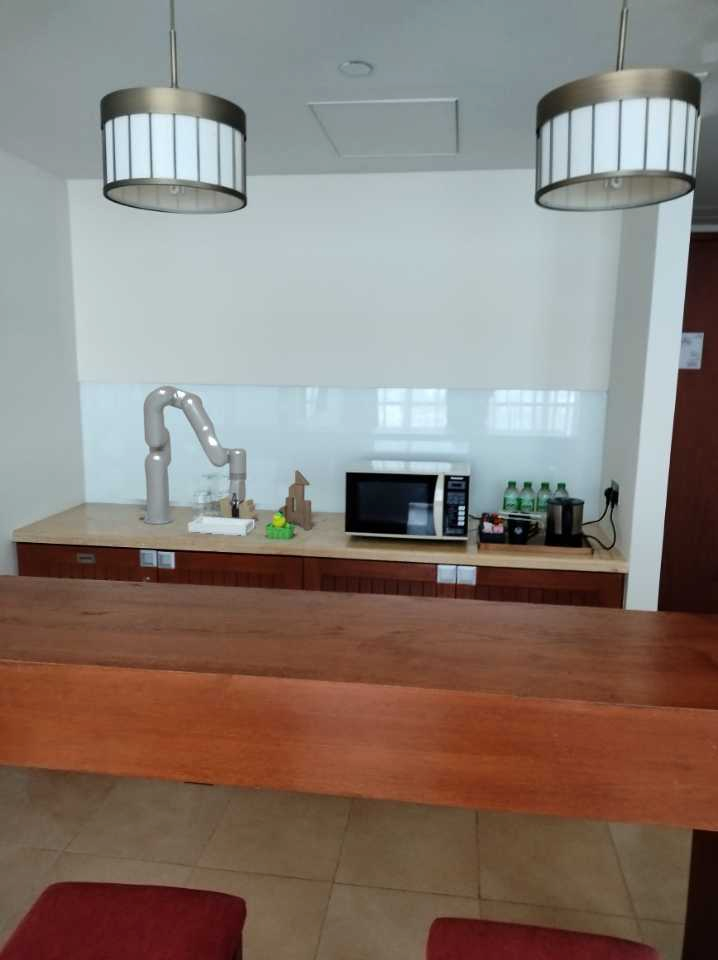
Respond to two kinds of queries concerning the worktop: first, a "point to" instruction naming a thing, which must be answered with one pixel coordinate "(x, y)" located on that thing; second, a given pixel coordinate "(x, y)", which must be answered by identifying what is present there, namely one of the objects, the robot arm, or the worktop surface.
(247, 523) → the white tray
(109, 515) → the worktop surface
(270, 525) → the fruit basket
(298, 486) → the wooden toy
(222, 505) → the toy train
